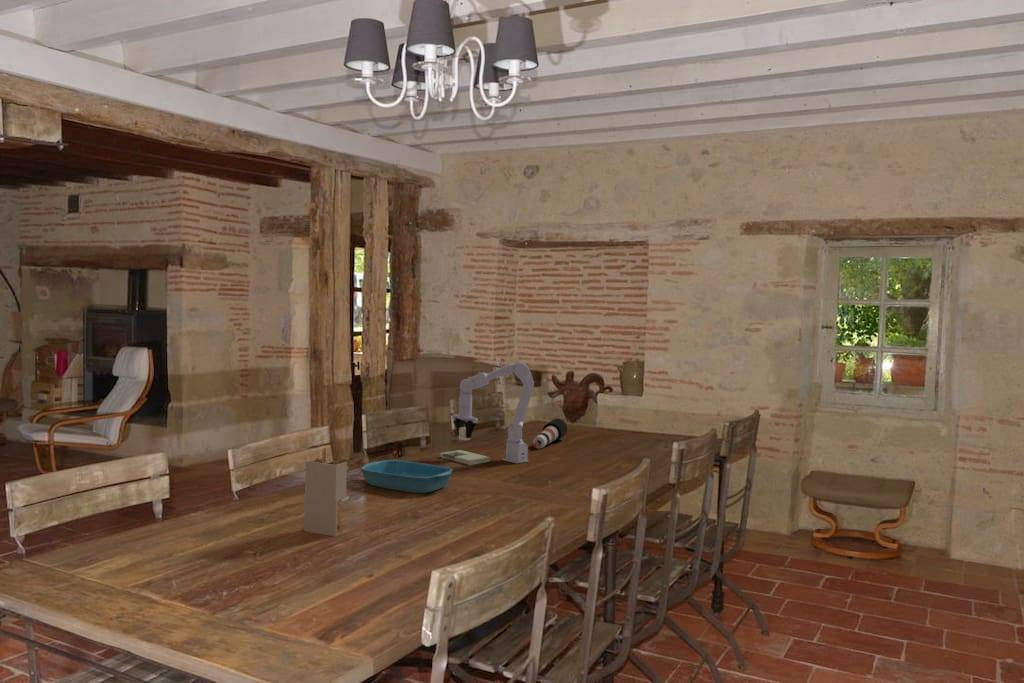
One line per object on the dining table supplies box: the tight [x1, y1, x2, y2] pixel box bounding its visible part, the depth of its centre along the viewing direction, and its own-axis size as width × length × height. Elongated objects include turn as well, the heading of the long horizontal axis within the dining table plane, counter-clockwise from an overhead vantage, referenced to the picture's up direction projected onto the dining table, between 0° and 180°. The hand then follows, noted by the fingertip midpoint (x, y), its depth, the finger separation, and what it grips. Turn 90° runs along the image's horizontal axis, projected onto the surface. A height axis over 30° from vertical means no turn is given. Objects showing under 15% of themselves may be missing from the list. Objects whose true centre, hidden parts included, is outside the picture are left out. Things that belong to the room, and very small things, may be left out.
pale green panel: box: [439, 449, 491, 466], centre depth 359 cm, size 20×12×2 cm, turn 45°
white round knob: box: [458, 426, 471, 441], centre depth 359 cm, size 5×5×5 cm
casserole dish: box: [361, 459, 453, 494], centre depth 308 cm, size 37×22×7 cm, turn 61°
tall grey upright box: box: [303, 447, 350, 538], centre depth 246 cm, size 8×12×26 cm
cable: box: [532, 418, 568, 449], centre depth 402 cm, size 10×34×10 cm, turn 158°
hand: (464, 436), depth 359 cm, fingers closed on white round knob, 5 cm apart
